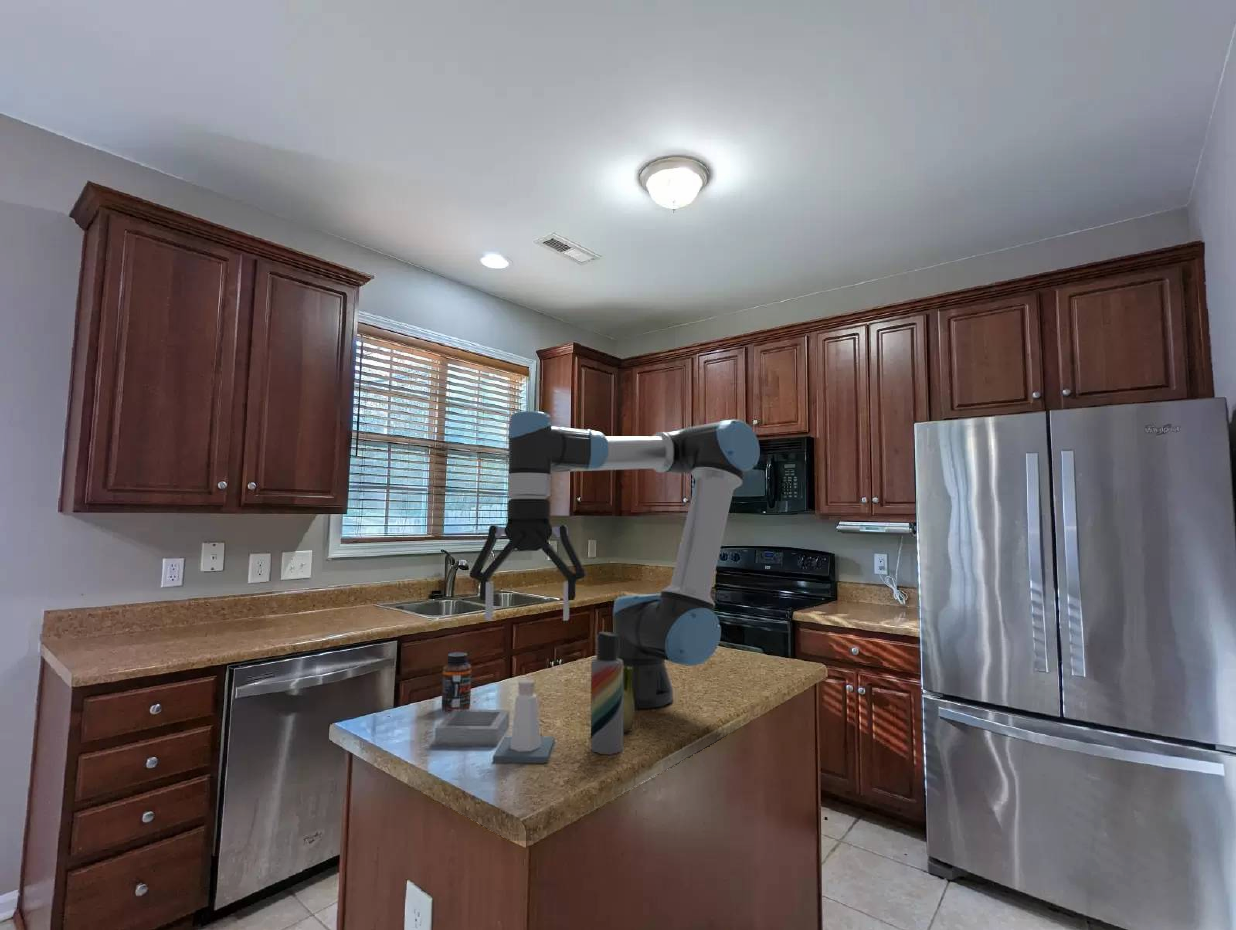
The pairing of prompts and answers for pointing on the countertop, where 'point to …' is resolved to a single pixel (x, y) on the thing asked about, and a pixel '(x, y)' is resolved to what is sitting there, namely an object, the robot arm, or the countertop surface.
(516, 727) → the salt shaker
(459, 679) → the supplement bottle
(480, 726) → the gray square tray
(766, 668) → the countertop surface
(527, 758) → the mat
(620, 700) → the lotion bottle
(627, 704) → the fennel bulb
